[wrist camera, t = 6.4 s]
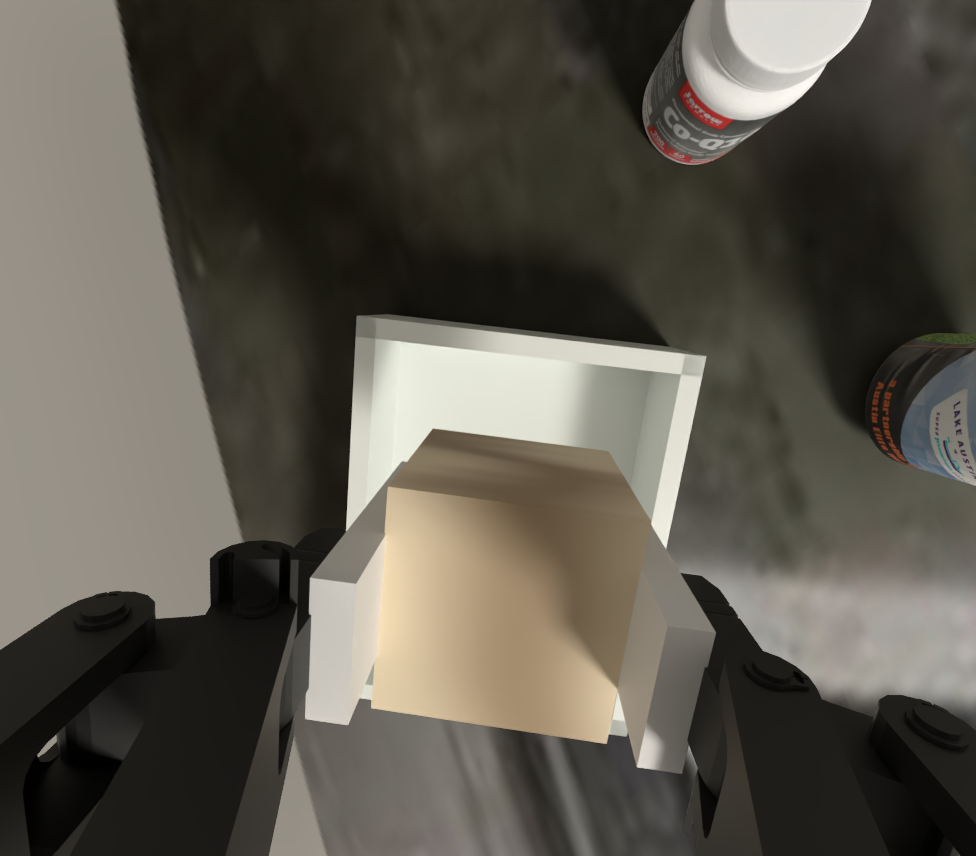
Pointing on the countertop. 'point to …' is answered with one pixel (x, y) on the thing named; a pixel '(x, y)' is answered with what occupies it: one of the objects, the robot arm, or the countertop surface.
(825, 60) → the pill bottle
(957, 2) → the countertop surface
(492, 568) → the cube
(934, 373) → the beverage can
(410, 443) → the tote
